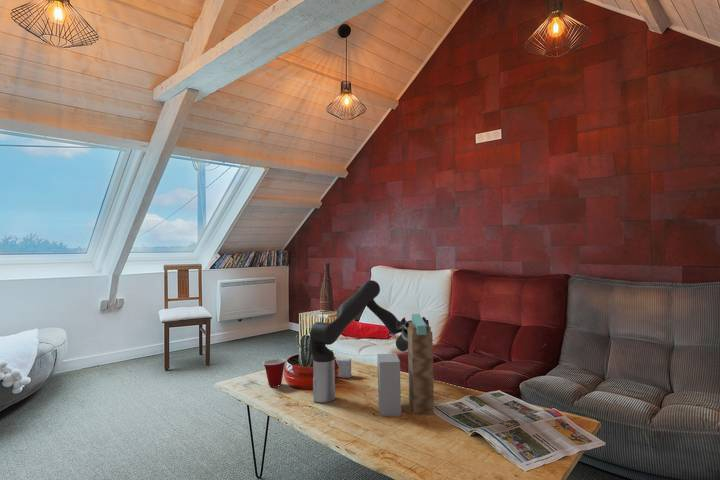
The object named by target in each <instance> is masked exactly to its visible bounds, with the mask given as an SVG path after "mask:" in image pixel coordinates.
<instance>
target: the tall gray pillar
mask: <svg viewBox="0 0 720 480" xmlns="http://www.w3.org/2000/svg"><path fill="white" fill-rule="evenodd" d="M376 355H377V391H378V392H377V393H378V395H377V396H378V398H377V400H378V401H377V402H378V409H379V414H380V417H392V416H393V417H394V416H395V417H397V416H398V417H399V416H402V391H401V387H402V386H401V385H402V384H401V361H400V359H399V356H398V354H397V353H378V354H376Z"/></svg>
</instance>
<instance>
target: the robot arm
mask: <svg viewBox="0 0 720 480" xmlns="http://www.w3.org/2000/svg"><path fill="white" fill-rule="evenodd" d="M380 287H381V286H380V285H379V283H378V282H377V281H376V280H374V279H373V280H371V279H370V280H366V281H365V282H363V284H362V285H360V287H359V288H358V289H357V291H356V292H355V293H354V294H352V295H350V296H349V297H348V298H347V299H346V300H345V301H343V302H342V303H341V304H340V305H339V307H338V308H337V309H336V310H337V312H336V318H335V319H334V320H332V321H331V322H320V321H316V322H314V323H313V324H312V325H311V328H310V332H309V335H310V336H309V338H310V339H309V341H310V351H311V355H312V356H311V357H312V367H313V368H312V369H313V370H312V371H313V374H312V375H313V379H312V390H313V391H312V396H313V397H312V400H313V401H314V402H315V403H323V404H324V403H326V404H327V403H330V402H331V403H332V402H333V401H334V400H335V399H336V384H335V383H336V381H335V380H336V378H335V353H334V351H332V350H331V349H329V348H328V347H327V346H329V345H332V344H334V343H335V342H336V341H337V340H338V339H339V338H340V336H341V334H343V332H344V330H345V329H346V328H347V327H348V326H349V325H350V324H351V323H352V322H353V321H354V320H355V319H356V318H357V317H358V316H359V315H360V314H361V312H362V311H363V310H364V308H366V307H367V308H368V309H369V310H370V311H371V312H372V313H373V315H375V316H376V317H377V318H378V320H380V321H381V322H382V324H383V325H384V326H385V328H386V329H387V330H388V331H389V333H390V334H391V335H392V336H395V335H397V334H399V333H400V335H399V336H398V337H397V338H396V340H395V346H396V349H397V350H398V351H400V352H406V351H407V352H408V327H409V322H412V320H406V317H403V318H401V320H399V319H398V318H397V317H396V316H395V314H393V313H392V312H391V311H390V310H387V309H386V308H383V307H381V305H379V304H378V303H377V302H376V300H375V299H376V298H377V296H378V295H379V294H380V293H381V288H380ZM422 319H423V321H424V322H426V323H427V324H428V325H429V326H430V324H429V319H427V318H426V317H425V316H422Z"/></svg>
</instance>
